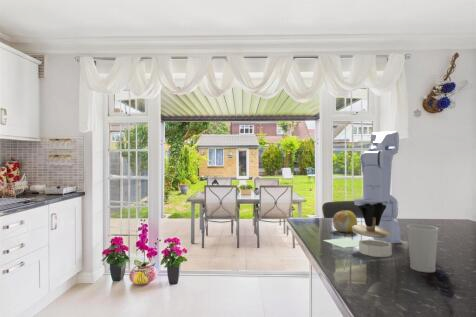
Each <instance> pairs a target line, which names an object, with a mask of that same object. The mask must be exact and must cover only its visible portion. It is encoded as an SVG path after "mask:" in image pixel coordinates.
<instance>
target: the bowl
mask: <svg viewBox="0 0 476 317" xmlns="http://www.w3.org/2000/svg"><path fill="white" fill-rule="evenodd" d="M392 246H393V245H392V243H388V242H384V241H379V240H368V239H362V240H359V246H358V252H359V253H360V254H362V255H364V256H370V257H375V258H376V257H377V258H385V257H386V258H387V257H391V256H393V254H392V253H393V252H392V251H393V250H392V249H393V248H392Z"/></svg>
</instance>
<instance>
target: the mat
mask: <svg viewBox="0 0 476 317" xmlns="http://www.w3.org/2000/svg"><path fill="white" fill-rule="evenodd" d="M322 241H323V242H326V243H329V244H331V245H334V246H337V247H339V248H343V249H344V248H345V249H346V248H352V247H353V248H355V247H359V241H360V240H359V241H358V240H355V239H351V238H349V237H344V238H333V239H324V240H322Z"/></svg>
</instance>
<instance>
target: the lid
mask: <svg viewBox="0 0 476 317" xmlns="http://www.w3.org/2000/svg"><path fill="white" fill-rule="evenodd" d="M375 224H376V217H373V223H372V226H371V227H370V226H366V224H357V225H354V226H352V231H353V232H354V233H355V234H358V235H360V236H364V237H368V238H386V237H389V235H390V232H389V231H387V230H385V229H383V228H380V227H375ZM353 232H352V233H353Z"/></svg>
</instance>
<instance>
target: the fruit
mask: <svg viewBox="0 0 476 317" xmlns="http://www.w3.org/2000/svg"><path fill="white" fill-rule="evenodd" d="M332 225H333V226H332V227H333V228H334V229H335V230H336V231H338V232H339V233H344V234H345V233H346V234H352V233H353V231H352V226H354V225H358V219H357V216H356V215H355V213H354V212H353V211H352V210H339V211H337V212H336V213H335V214H334V215H333V217H332Z"/></svg>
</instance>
